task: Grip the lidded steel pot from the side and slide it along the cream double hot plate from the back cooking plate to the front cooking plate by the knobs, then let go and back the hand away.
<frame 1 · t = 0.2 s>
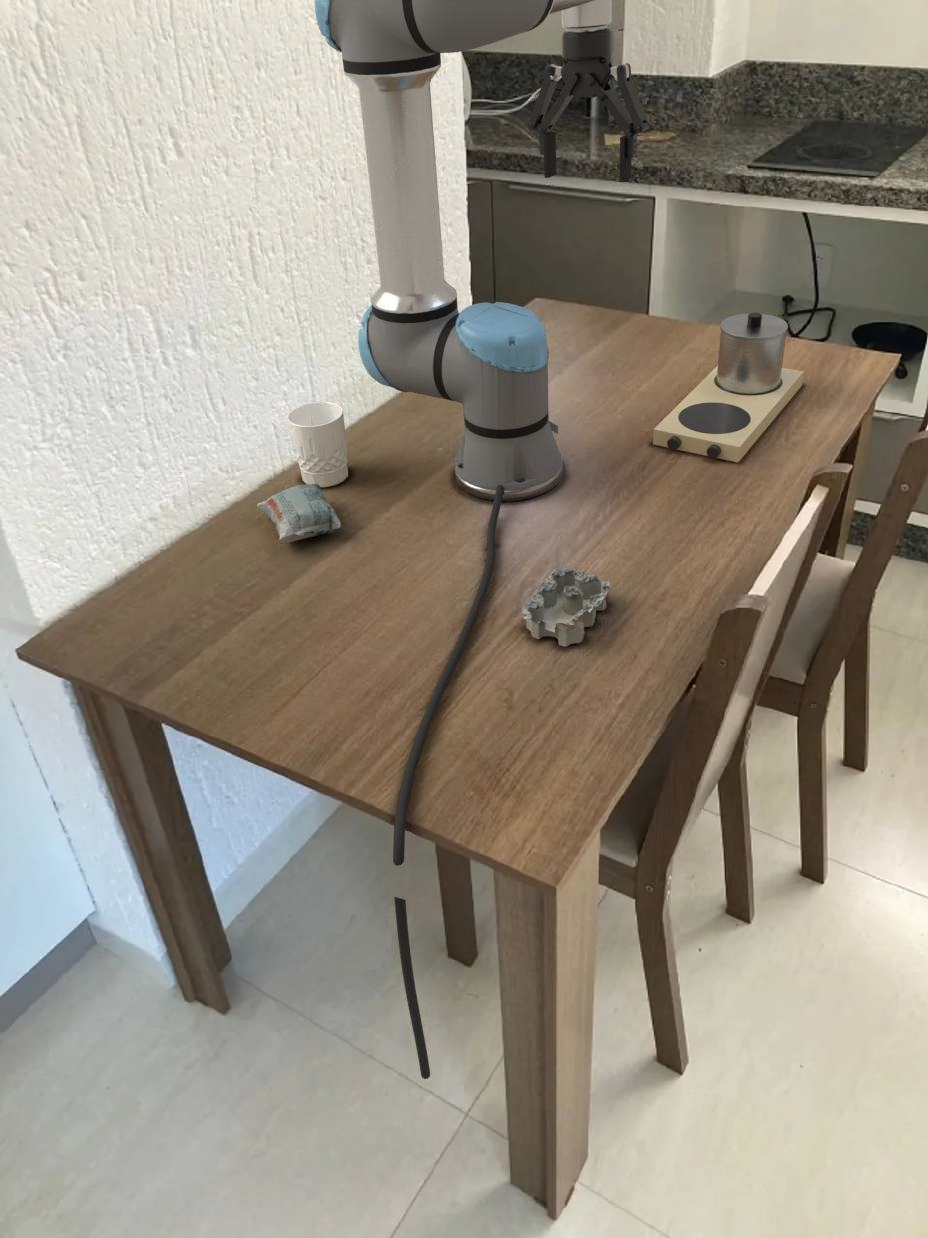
hand: (587, 178, 166), 27 cm above the table, tool pointing down, fingers open, 13 cm apart
white cup: (325, 477, 148), on the table
egg carton: (565, 618, 117), on the table
pot: (748, 381, 158), point 3 cm above the table, touching hot plate
hot plate: (730, 414, 155), on the table
packaged food: (300, 530, 137), on the table
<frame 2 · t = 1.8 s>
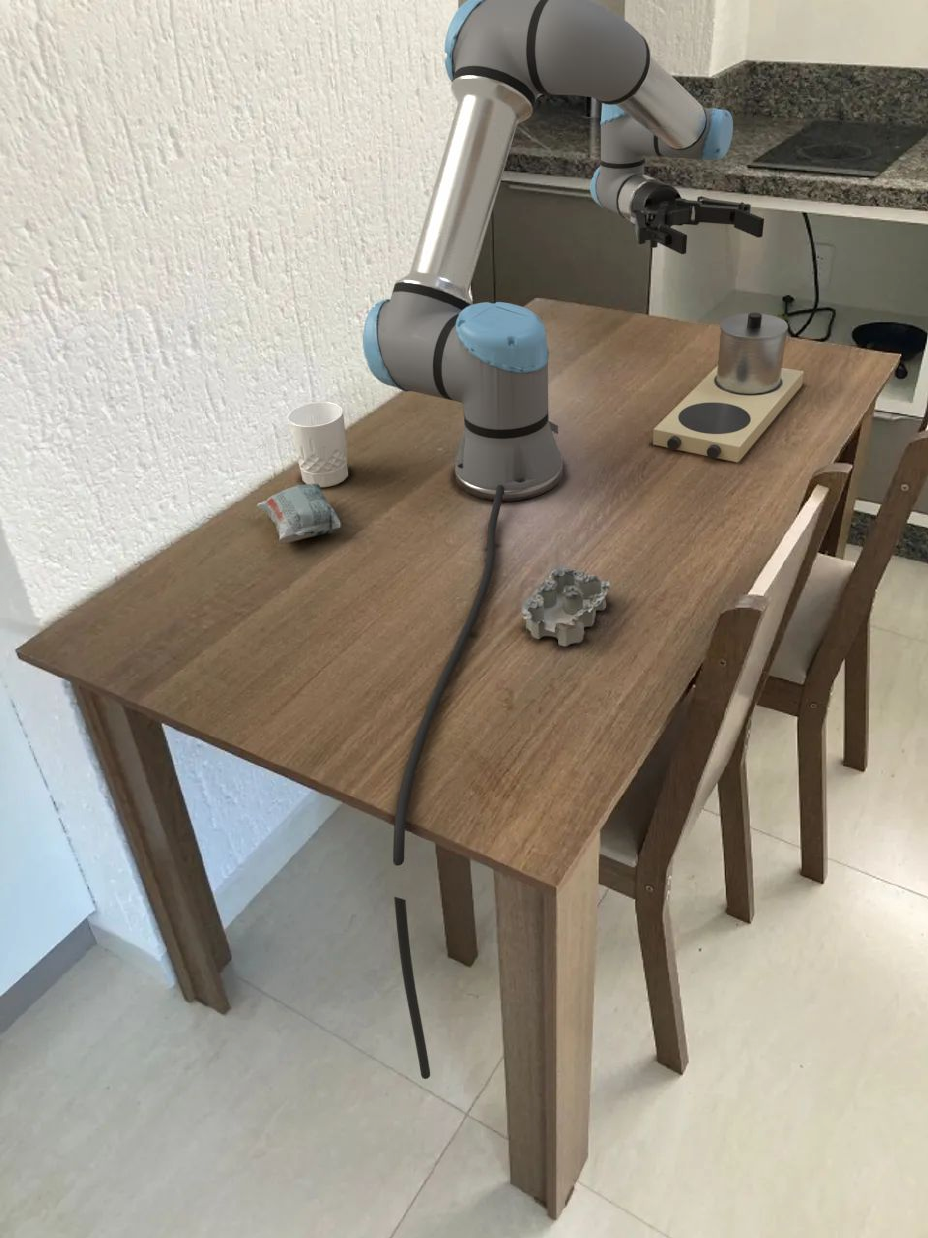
hand: (723, 236, 154), 22 cm above the table, tool horizontal, fingers open, 13 cm apart
nothing on the table moved.
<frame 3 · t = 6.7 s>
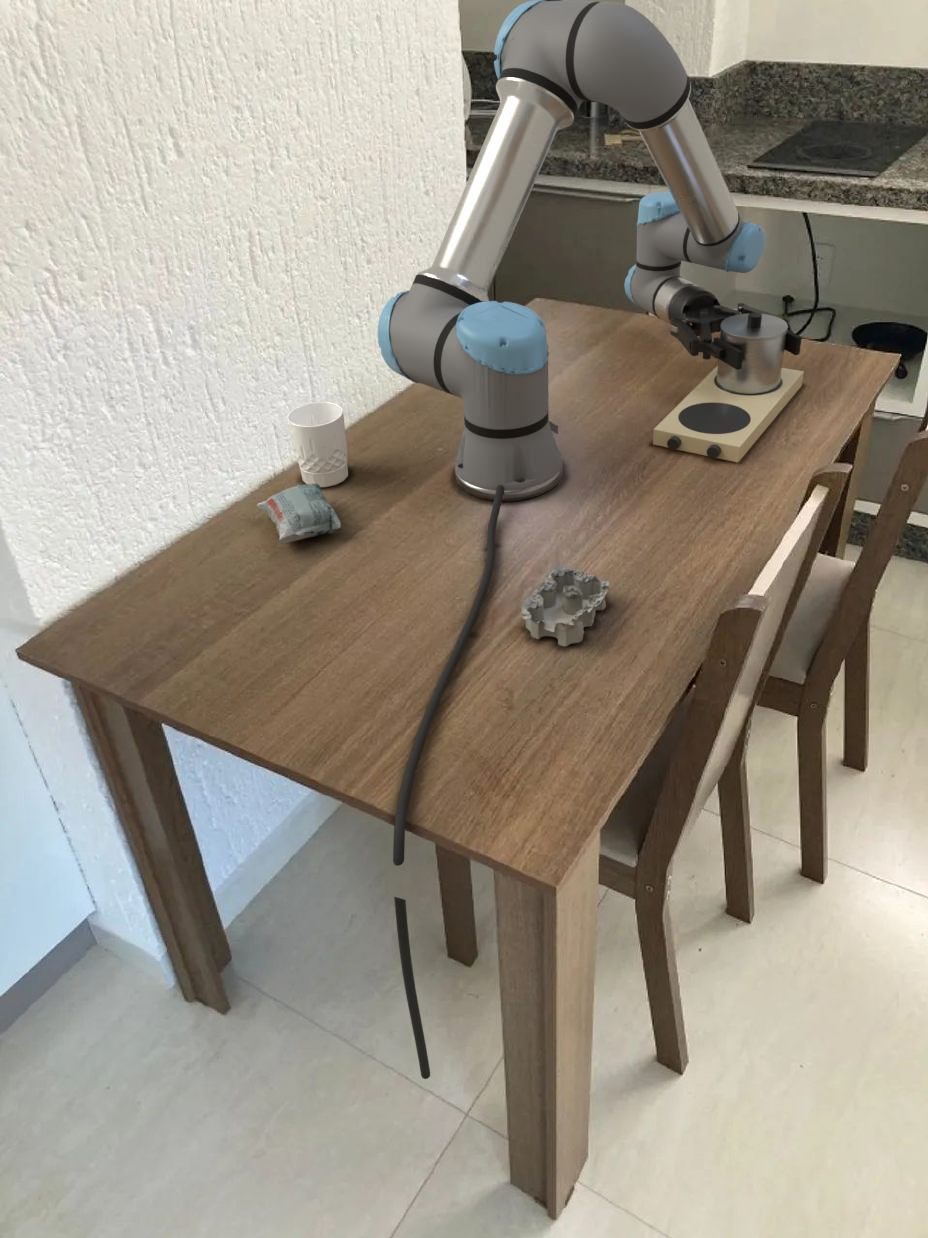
hand: (769, 353, 151), 9 cm above the table, tool horizontal, fingers closed on pot, 10 cm apart
pot: (748, 381, 158), point 3 cm above the table, touching gripper, hot plate
everything else where it was.
when the fingers open (8 cm above the table, at t = 11.8 s): pot stays where it is, resting on hot plate.
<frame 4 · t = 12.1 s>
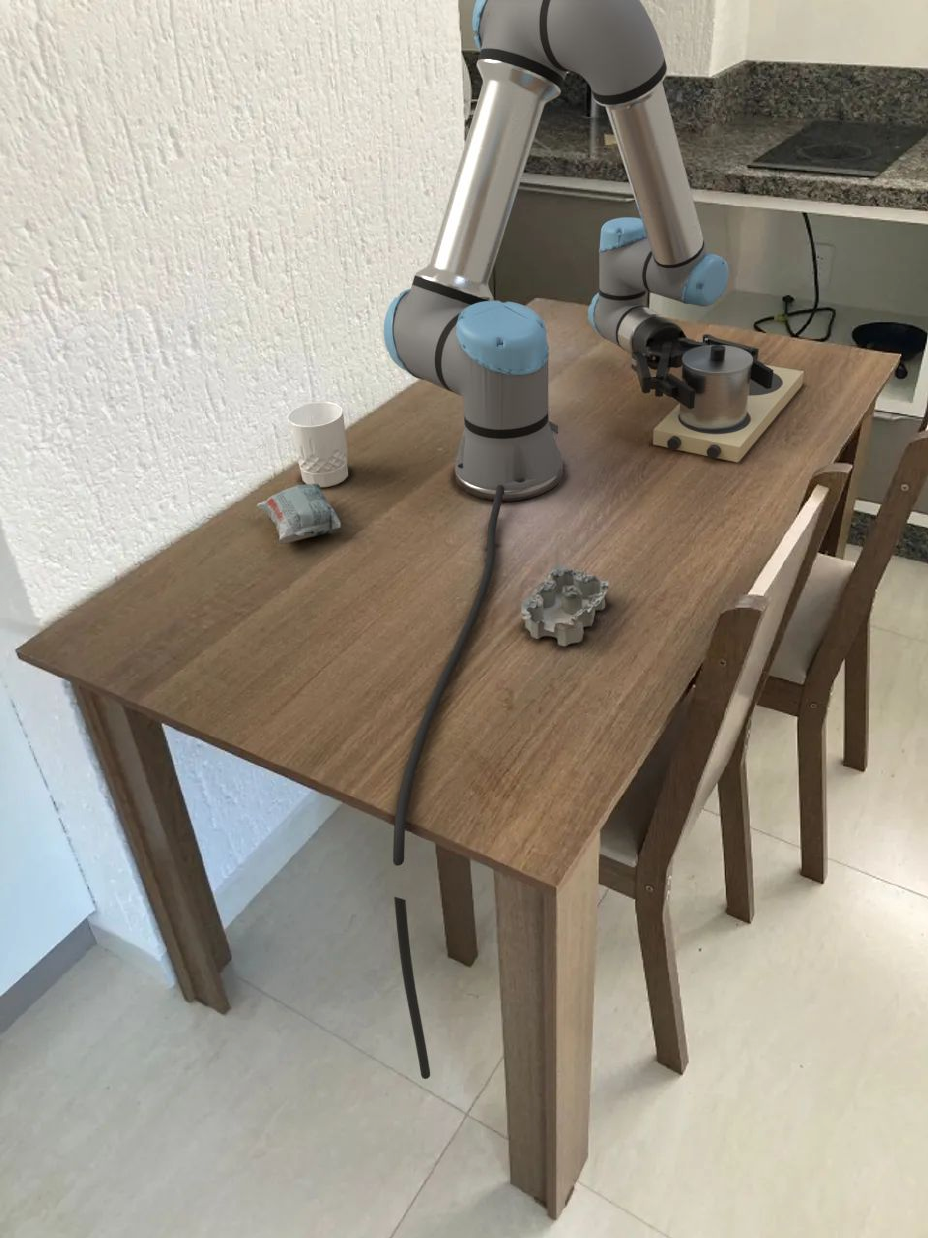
hand: (731, 389, 143), 8 cm above the table, tool horizontal, fingers open, 12 cm apart
pot: (712, 416, 150), point 3 cm above the table, touching hot plate
everything else where it was.
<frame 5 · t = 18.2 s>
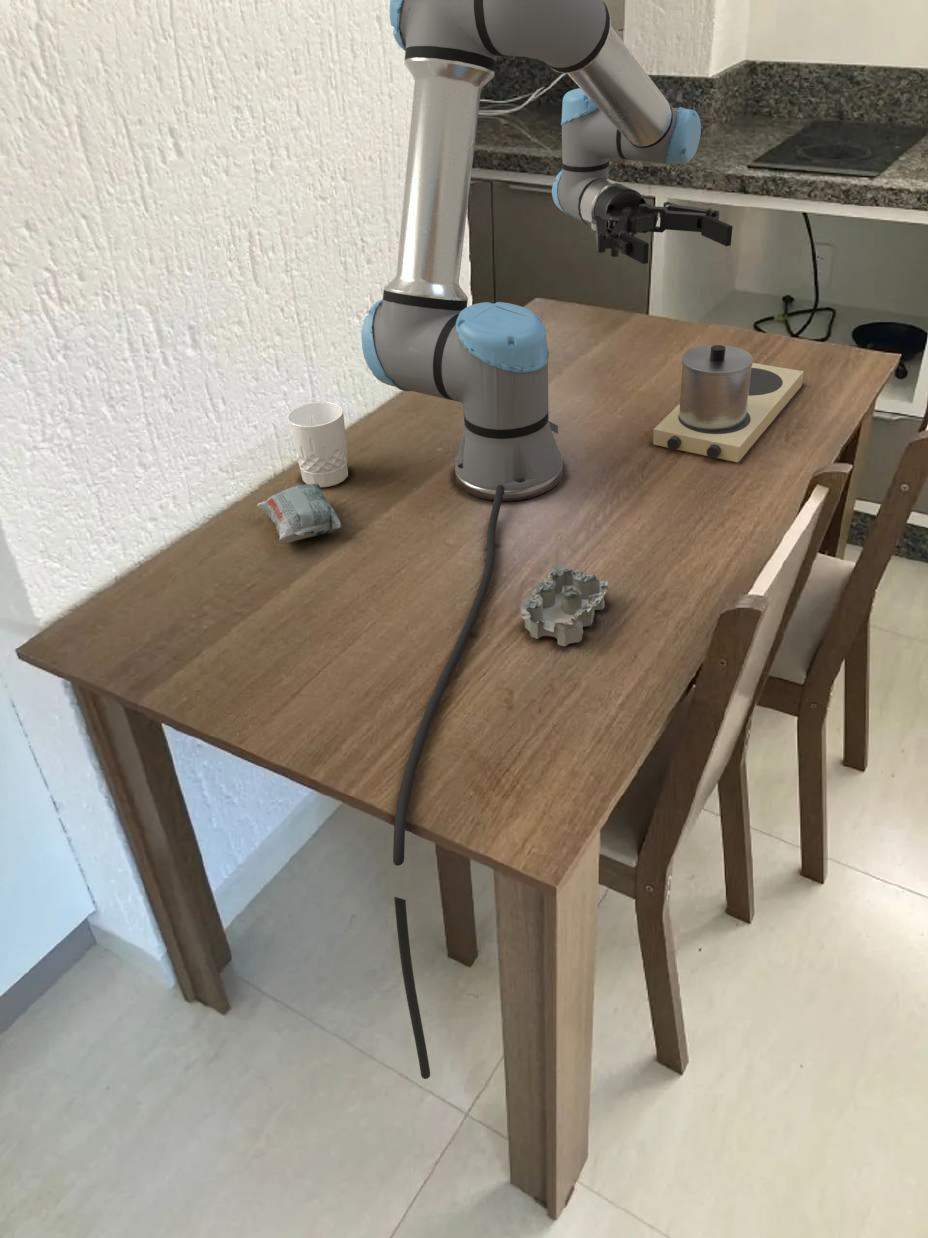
hand: (688, 244, 143), 25 cm above the table, tool horizontal, fingers open, 13 cm apart
nothing on the table moved.
at the end: pot 0.5 cm from the target spot on the hot plate, point 2.5 cm above the hot plate's base; pot tilted 0°; the gripper is holding nothing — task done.
